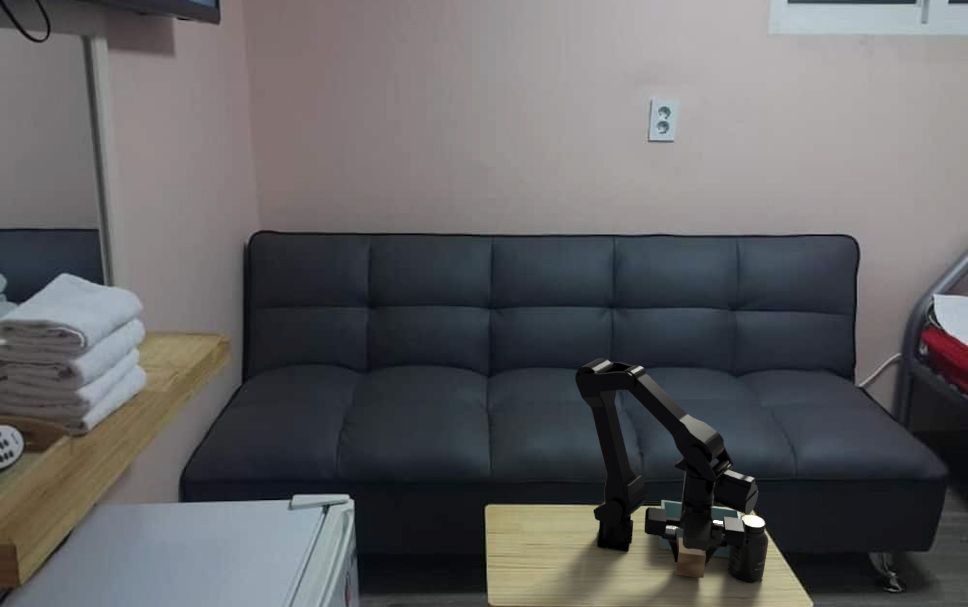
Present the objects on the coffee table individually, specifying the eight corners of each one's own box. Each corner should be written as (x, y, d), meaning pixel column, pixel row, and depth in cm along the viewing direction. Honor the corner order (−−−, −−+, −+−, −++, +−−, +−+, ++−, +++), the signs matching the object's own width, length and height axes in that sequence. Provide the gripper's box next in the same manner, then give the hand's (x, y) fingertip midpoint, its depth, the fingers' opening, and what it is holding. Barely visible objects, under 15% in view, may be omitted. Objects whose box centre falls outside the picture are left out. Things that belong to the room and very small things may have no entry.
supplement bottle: (765, 586, 157) (773, 533, 153) (728, 581, 158) (735, 528, 155) (760, 565, 164) (768, 513, 160) (725, 560, 165) (732, 508, 161)
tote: (659, 548, 168) (661, 524, 166) (659, 522, 177) (661, 499, 176) (740, 559, 165) (744, 535, 164) (736, 532, 174) (739, 509, 173)
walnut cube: (676, 574, 158) (679, 552, 156) (676, 558, 162) (678, 537, 161) (703, 578, 157) (705, 555, 155) (702, 562, 162) (704, 540, 160)
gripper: (647, 510, 149) (640, 582, 154) (754, 523, 145) (743, 597, 150) (648, 479, 159) (641, 547, 164) (747, 491, 156) (738, 561, 161)
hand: (690, 563), depth 159 cm, fingers closed on walnut cube, 5 cm apart
